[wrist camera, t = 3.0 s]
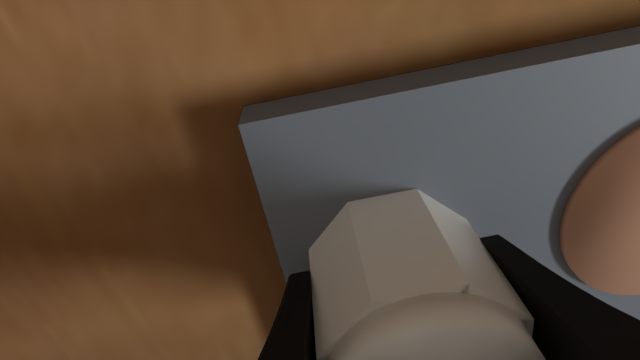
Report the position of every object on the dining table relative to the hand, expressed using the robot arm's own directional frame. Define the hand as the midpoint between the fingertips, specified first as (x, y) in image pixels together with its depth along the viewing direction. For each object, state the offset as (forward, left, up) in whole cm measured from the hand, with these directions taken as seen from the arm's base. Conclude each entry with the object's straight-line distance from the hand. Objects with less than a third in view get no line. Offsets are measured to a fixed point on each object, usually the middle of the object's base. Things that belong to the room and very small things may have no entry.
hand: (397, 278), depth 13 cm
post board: (-4, 0, -2) cm, 5 cm away
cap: (0, 0, -1) cm, 1 cm away
